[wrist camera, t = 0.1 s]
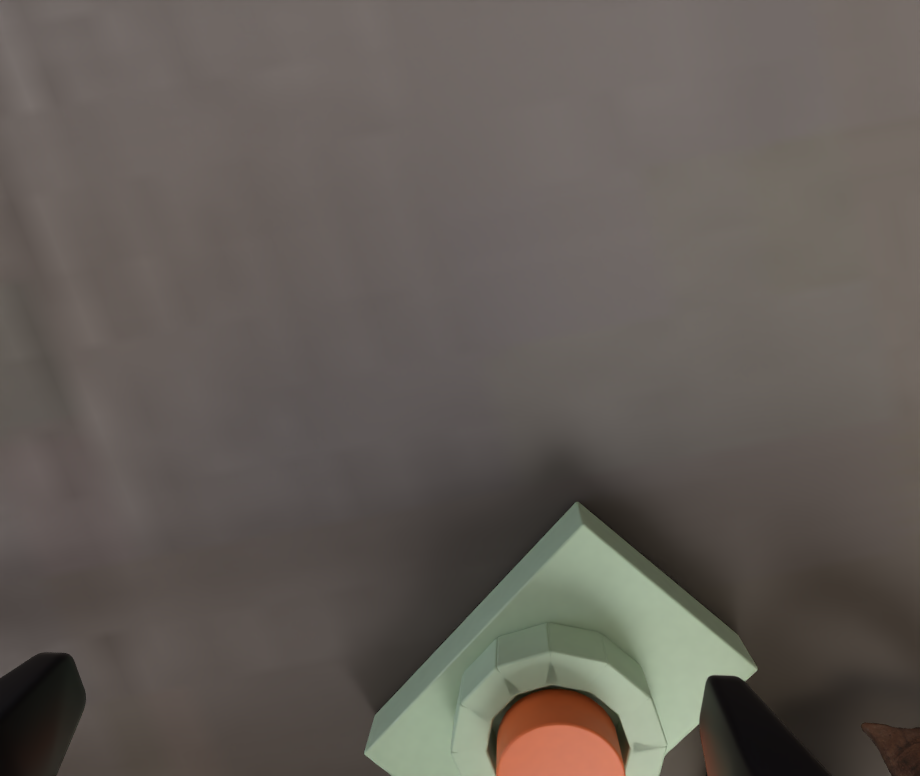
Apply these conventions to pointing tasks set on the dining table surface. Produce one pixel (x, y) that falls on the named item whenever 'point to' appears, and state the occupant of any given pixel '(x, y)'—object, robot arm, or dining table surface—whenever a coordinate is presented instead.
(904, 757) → the pottery mug
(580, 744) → the call button
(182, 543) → the dining table surface
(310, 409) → the dining table surface
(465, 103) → the dining table surface
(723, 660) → the box
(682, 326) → the dining table surface
